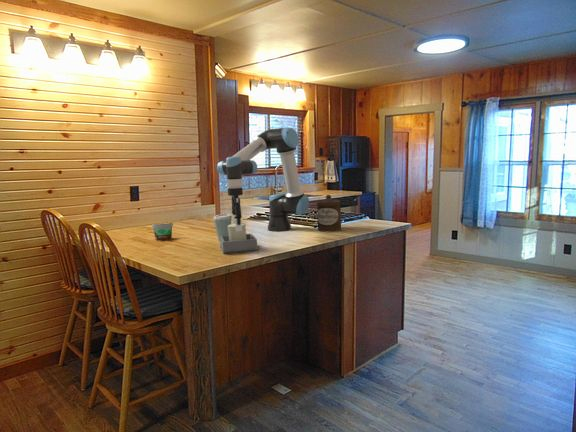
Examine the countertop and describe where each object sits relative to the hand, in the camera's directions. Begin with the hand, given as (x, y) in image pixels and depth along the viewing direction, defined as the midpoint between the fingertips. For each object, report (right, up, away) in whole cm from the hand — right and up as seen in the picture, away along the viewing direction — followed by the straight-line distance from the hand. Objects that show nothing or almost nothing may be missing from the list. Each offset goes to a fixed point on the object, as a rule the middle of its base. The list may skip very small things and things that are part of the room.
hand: (237, 229), depth 212 cm
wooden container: (+52, -2, +48) cm, 71 cm away
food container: (-48, -8, +35) cm, 60 cm away
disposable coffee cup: (-11, -8, +25) cm, 29 cm away
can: (+1, -9, +2) cm, 9 cm away
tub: (0, -10, +2) cm, 11 cm away
